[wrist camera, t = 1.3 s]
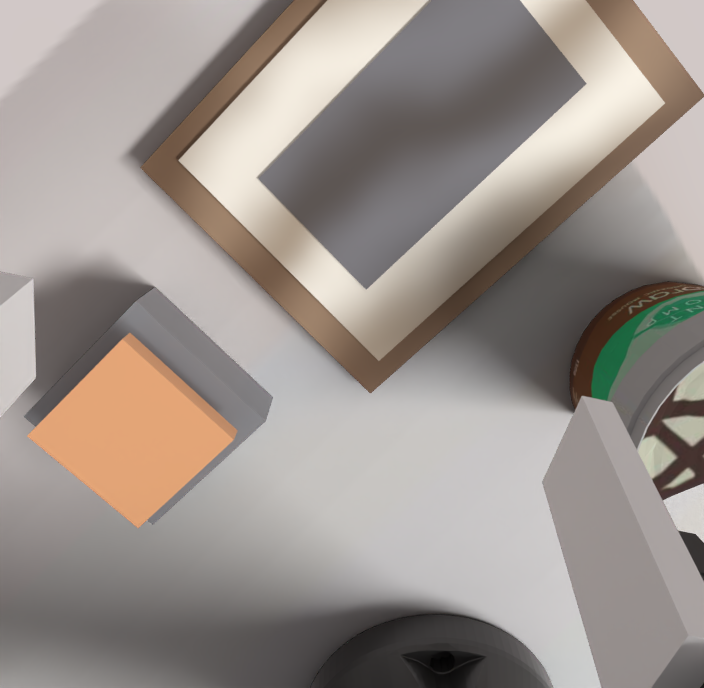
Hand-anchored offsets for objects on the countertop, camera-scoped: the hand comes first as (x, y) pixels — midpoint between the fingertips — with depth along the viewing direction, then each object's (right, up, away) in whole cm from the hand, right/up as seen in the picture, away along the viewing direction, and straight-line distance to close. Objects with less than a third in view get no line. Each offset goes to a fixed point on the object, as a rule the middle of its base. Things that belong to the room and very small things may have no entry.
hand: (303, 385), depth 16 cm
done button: (-9, -2, +16) cm, 19 cm away
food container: (+16, +2, +17) cm, 23 cm away
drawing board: (+4, +11, +14) cm, 18 cm away
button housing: (-9, -2, +18) cm, 20 cm away
